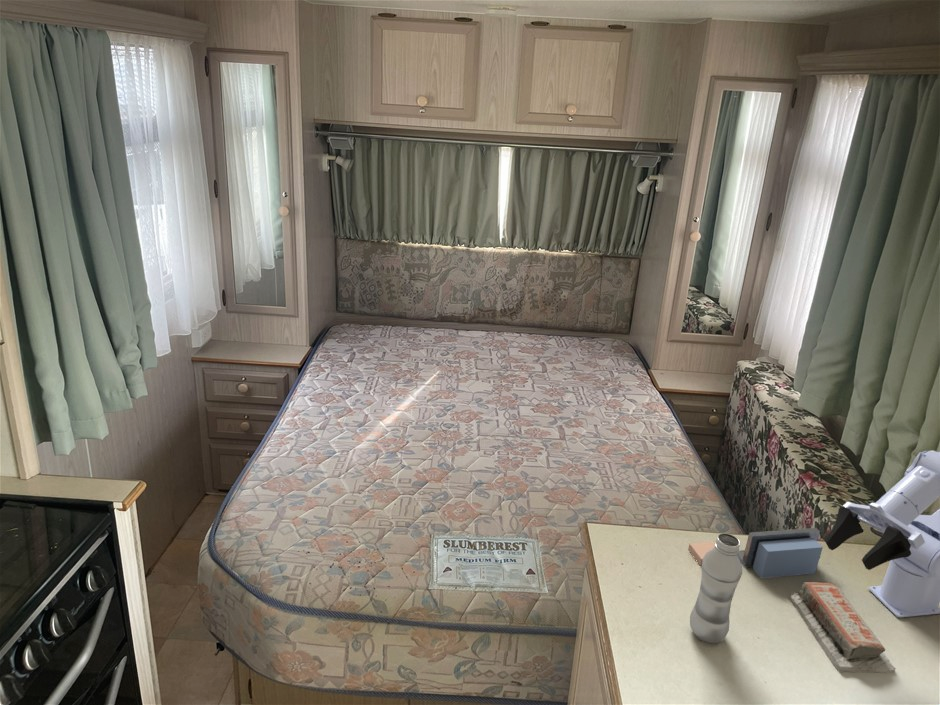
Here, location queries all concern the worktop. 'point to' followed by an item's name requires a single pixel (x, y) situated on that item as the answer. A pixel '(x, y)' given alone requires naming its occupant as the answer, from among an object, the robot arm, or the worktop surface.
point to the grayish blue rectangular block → (787, 557)
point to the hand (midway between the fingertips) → (846, 555)
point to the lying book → (700, 550)
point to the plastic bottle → (717, 589)
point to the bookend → (755, 537)
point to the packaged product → (840, 629)
